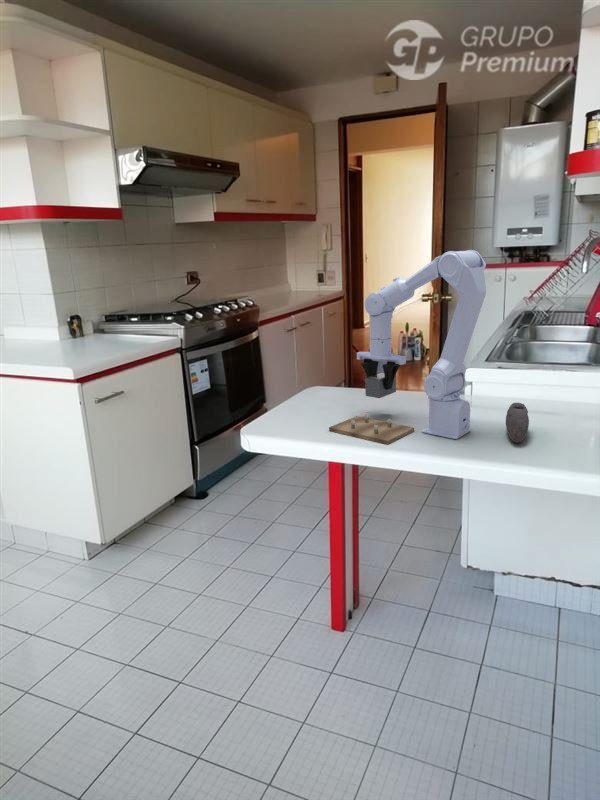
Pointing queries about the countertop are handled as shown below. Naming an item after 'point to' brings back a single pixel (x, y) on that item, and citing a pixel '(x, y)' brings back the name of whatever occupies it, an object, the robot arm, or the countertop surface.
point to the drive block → (378, 386)
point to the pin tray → (372, 429)
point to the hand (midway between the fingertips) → (380, 387)
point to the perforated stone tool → (517, 422)
